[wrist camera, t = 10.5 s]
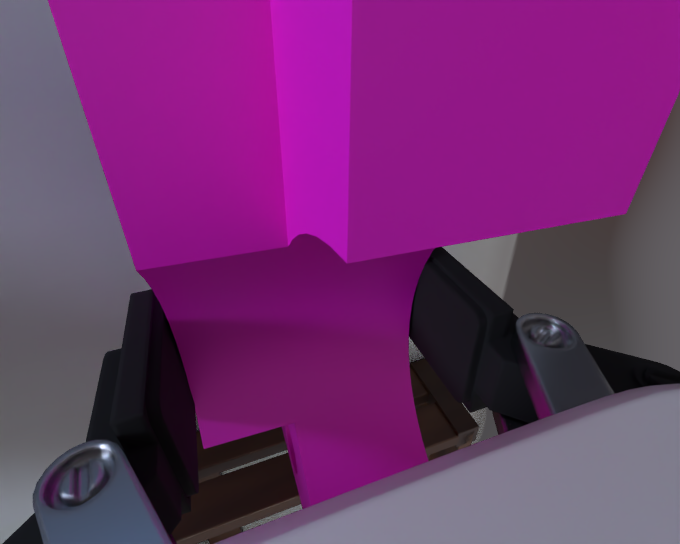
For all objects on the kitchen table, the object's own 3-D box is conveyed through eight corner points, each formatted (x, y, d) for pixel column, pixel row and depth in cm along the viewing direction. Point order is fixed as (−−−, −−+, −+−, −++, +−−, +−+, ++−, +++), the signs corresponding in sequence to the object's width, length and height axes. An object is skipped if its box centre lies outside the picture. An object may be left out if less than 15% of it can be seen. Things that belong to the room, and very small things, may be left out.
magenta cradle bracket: (97, -22, 8) (-174, -158, 2) (387, -13, 9) (746, -63, 3) (219, 441, 16) (246, 696, 10) (363, 400, 18) (458, 595, 12)
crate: (118, 452, 19) (104, 566, 15) (428, 357, 23) (479, 426, 19) (209, 601, 30) (214, 689, 26) (407, 518, 35) (437, 582, 31)
